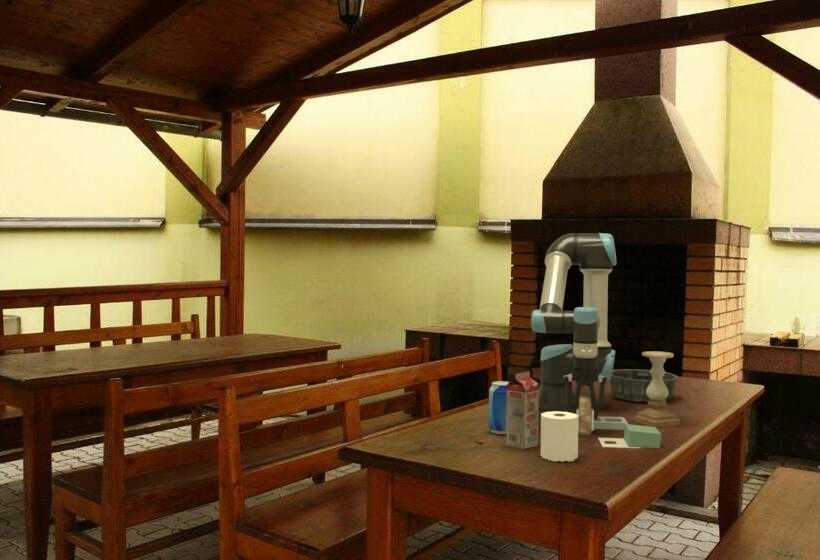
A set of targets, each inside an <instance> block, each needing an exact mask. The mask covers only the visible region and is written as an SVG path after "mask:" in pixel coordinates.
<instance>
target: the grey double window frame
mask: <svg viewBox="0 0 820 560" xmlns="http://www.w3.org/2000/svg"><path fill="white" fill-rule="evenodd" d="M625 424H629V423H628V421H627V420H626V418H625V417H623V416H597V420H594V430H618V431H619V430H622V431H623V430H625Z"/></svg>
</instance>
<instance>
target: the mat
mask: <svg viewBox="0 0 820 560" xmlns="http://www.w3.org/2000/svg"><path fill="white" fill-rule="evenodd" d="M597 439H598V441H599V443H600V444H601V447H602V448H618V449H619V448H621V449H622V448H624V449H642V447H634V446H628V444H627V443H626V441H625V440H624V437H623V438H622V437H621V438H619V437H618V438H617V437H616V438H615V437H597ZM606 442H615V443H606Z"/></svg>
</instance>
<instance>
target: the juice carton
mask: <svg viewBox="0 0 820 560" xmlns="http://www.w3.org/2000/svg"><path fill="white" fill-rule="evenodd" d="M508 382H509V383H508V384H507V435H506V446H507V445H511V446H515V447H519V448H523V449H524V442H525V449H526V448H530V447H533V446H537V445H538V446H539V408H538V397H539V389H540V386H539V385H540V383H538V382H537V381H536V380H535V379H533V378H532V377H531V374H530V371H526V372H525V371H524V372H520V373H515V379H514V380H512V381H508ZM538 446H537V447H538ZM533 448H534V447H533ZM530 449H531V448H530Z"/></svg>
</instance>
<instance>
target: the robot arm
mask: <svg viewBox="0 0 820 560" xmlns="http://www.w3.org/2000/svg"><path fill="white" fill-rule="evenodd" d="M614 240H615V239H614V236H613V235H612V234H610V233H606V232H605V233H601V232H594V233H593V232H592V233H591V232H590V233H589V232H587V233H583V232H582V233H581V232H580V233H575V232H574V233H573V232H572V233H566V234H563V235H562V236H560V237H559V238H557V239H556V240H555V241H554V242H552V244H551V245H550V246H549V247H548V249H547V251H546V253H545V258H544V265H545V268H546V269H545V274H544V280H543V285H542V286H543V287H542V293H541V299H540V305H539V309H535V310H532V312H531V316H530V317H531V318H530V321H531V322H530V324H531V330H532V331H533V332H535V333H542V334H569V335H570V334H572V335H573V342H572V343H573V344H571V343H567V344H565V343H562V344H553V345H547V346H544V347H543V348H542V349H541V351H540V360H539V361H540V384H539V385H540V386H539V397H538V409H539V408H540V410H543V411H548V412H553V411H559V412H570V411H571V413H574V414H576V415H577V416H578V430H579V409H578V399H579V396H581V395H580V394H581V389H582V387H584V386H587V387H588V389H589V394H590V397H591V405H592V407H591V432H592V431H593V432H594V431H595V429H594V420H597V417H598V410H599V409H603V408H604V405H605V387H606V386H605V385H606V382H610V379H611V377H612V371H614V365H615V364H614V363H615V358H616V357H615V356H616V350H615V349H612V344H611V343H610V342H609V341H608V309H609V308H608V299H609V295H608V294H609V293H608V292H609V288H608V287H609V285H608V284H609V274H610V273H612V271H613V266H616V265H617V255H616V253H617V252H616V247H615V246H616V245H615V241H614ZM571 266H579V271H580V272H582V274H583V304H582V305H583V306H579V307H575V308H574V310H563V307H564V300H565V292H566V284H567V277H568V270H570V268H571ZM573 381H575V382H576V386H575V391H574V389H573ZM595 382H597V383H599V391H598V402H597V398H596V392H595V386H594V384H595Z"/></svg>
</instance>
